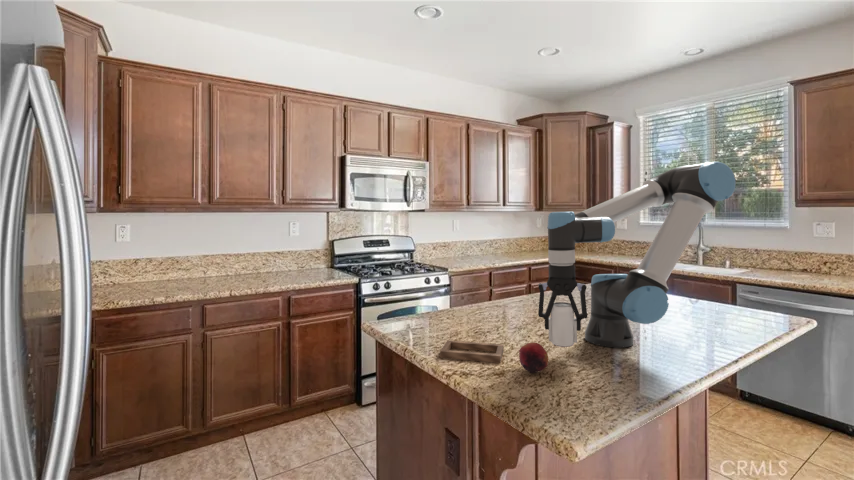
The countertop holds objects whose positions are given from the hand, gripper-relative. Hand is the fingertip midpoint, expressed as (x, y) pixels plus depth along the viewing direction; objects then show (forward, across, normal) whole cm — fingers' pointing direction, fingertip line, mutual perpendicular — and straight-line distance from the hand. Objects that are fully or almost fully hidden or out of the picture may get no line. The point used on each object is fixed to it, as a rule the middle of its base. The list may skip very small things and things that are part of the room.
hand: (562, 340), depth 122 cm
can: (+1, 0, 0) cm, 1 cm away
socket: (+5, +27, +3) cm, 27 cm away
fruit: (+5, +8, +13) cm, 17 cm away
